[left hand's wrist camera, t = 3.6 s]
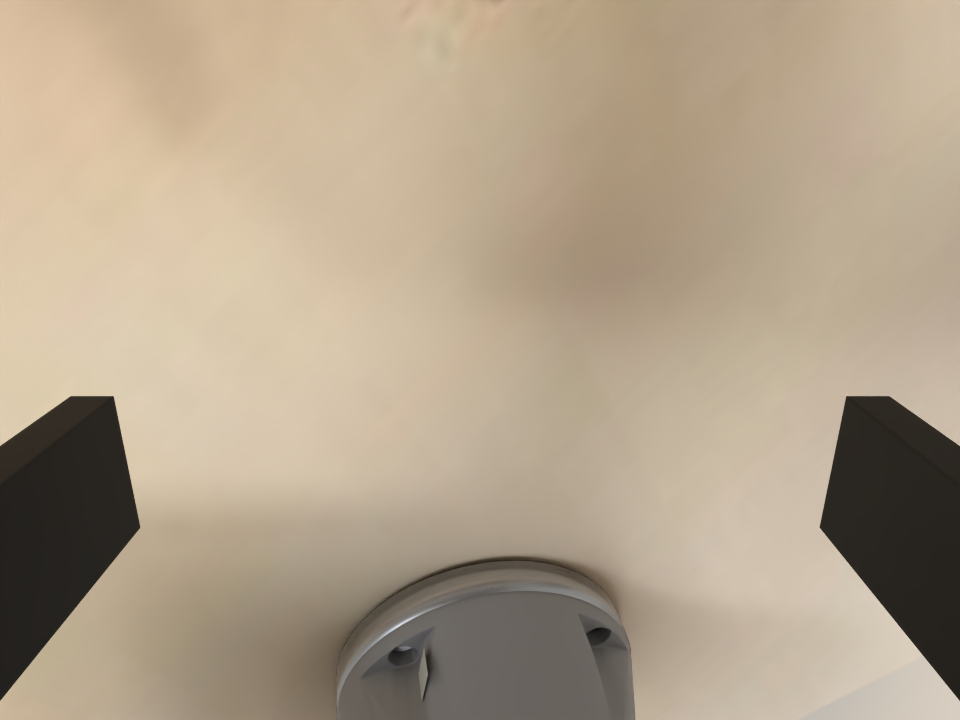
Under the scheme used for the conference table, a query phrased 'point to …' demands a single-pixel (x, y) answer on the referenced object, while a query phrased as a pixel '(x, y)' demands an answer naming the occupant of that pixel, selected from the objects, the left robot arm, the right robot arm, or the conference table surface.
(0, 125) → the conference table surface
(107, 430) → the left robot arm
